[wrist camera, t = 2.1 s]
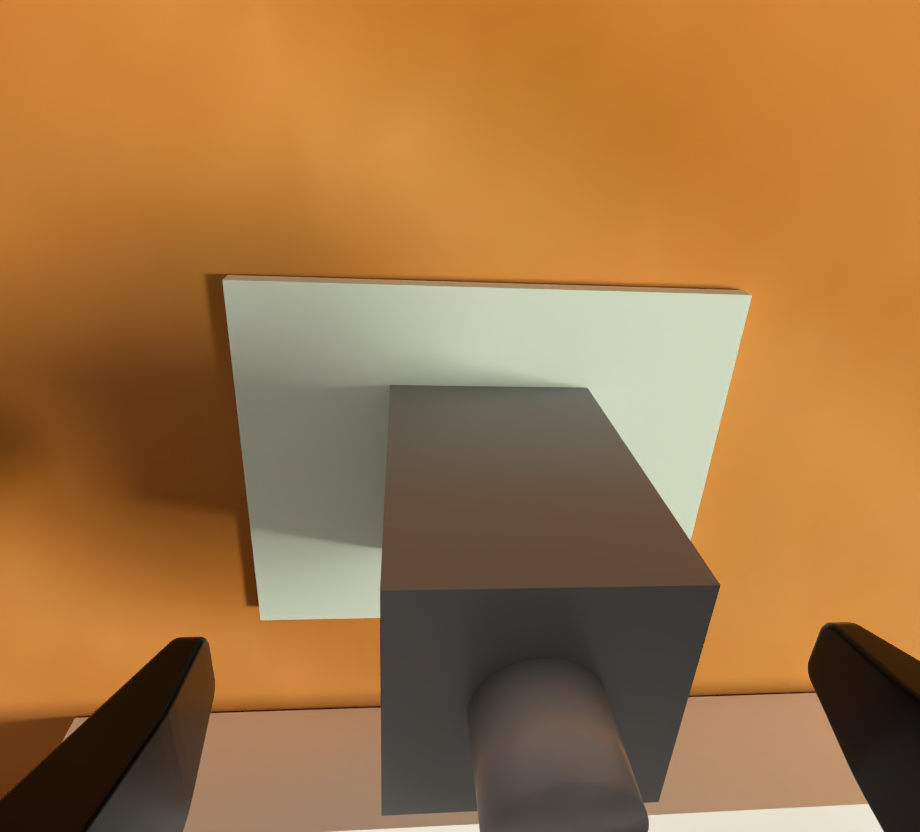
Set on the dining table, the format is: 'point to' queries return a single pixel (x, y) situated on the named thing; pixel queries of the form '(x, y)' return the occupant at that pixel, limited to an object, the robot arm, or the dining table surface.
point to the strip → (364, 828)
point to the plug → (529, 613)
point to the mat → (446, 364)
